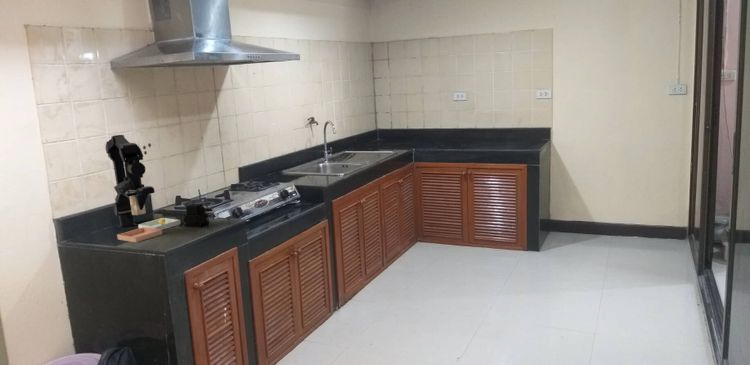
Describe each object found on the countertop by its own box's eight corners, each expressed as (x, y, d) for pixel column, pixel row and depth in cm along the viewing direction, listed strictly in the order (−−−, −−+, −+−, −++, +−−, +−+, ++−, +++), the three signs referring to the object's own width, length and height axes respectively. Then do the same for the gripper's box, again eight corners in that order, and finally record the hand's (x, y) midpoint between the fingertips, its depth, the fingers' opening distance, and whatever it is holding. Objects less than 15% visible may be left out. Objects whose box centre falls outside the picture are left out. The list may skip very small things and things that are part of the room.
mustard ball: (157, 225, 277) (156, 218, 276) (163, 223, 279) (162, 217, 279) (161, 225, 275) (160, 219, 274) (167, 223, 277) (166, 217, 277)
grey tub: (138, 230, 272) (138, 224, 272) (163, 222, 282) (162, 217, 282) (156, 232, 265) (155, 227, 264) (180, 225, 275) (179, 219, 275)
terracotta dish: (118, 240, 256) (117, 234, 256) (144, 232, 266) (143, 227, 266) (136, 243, 249) (135, 237, 248) (162, 235, 259) (161, 229, 259)
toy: (208, 229, 263) (205, 207, 261) (183, 228, 269) (180, 206, 267) (219, 225, 270) (216, 203, 268) (194, 224, 276) (191, 203, 274)
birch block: (132, 214, 257) (129, 196, 256) (140, 212, 260) (137, 194, 259) (137, 215, 255) (134, 197, 253) (145, 213, 258) (143, 195, 257)
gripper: (103, 176, 253) (108, 211, 256) (129, 178, 243) (134, 215, 246) (126, 171, 262) (131, 206, 265) (152, 173, 251) (157, 209, 254)
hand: (138, 209), depth 257 cm, fingers closed on birch block, 4 cm apart
